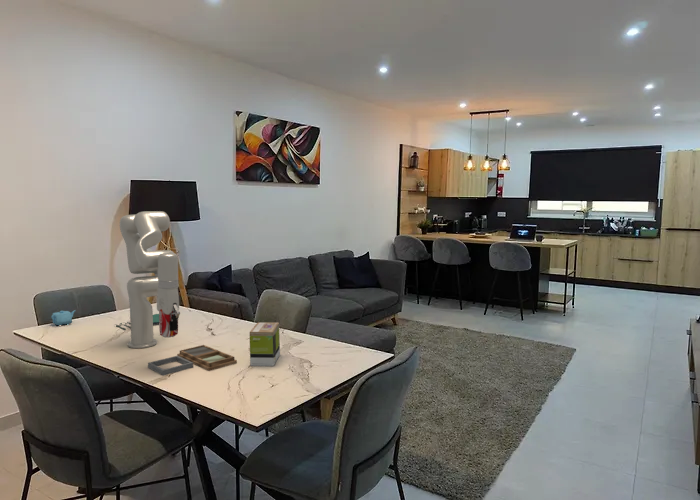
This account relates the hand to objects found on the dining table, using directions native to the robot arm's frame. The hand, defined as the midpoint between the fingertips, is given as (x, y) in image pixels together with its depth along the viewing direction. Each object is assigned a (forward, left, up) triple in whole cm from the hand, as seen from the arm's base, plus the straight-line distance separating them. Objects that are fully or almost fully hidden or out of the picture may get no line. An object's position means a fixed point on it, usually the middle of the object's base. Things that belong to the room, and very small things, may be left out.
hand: (169, 327), depth 193 cm
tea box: (+21, +32, -16) cm, 41 cm away
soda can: (0, 0, -3) cm, 3 cm away
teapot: (-102, -7, -16) cm, 103 cm away
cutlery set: (-75, +25, -17) cm, 81 cm away
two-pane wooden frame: (+3, +15, -16) cm, 22 cm away
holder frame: (+1, 0, -16) cm, 16 cm away
